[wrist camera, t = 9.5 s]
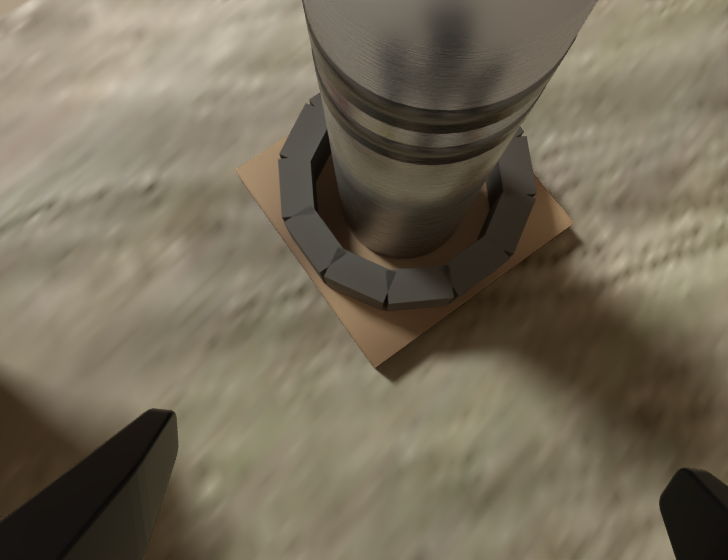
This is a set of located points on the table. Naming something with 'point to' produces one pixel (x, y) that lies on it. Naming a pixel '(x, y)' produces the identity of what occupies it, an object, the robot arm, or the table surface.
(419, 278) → the collar
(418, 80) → the cylinder
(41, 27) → the table surface
